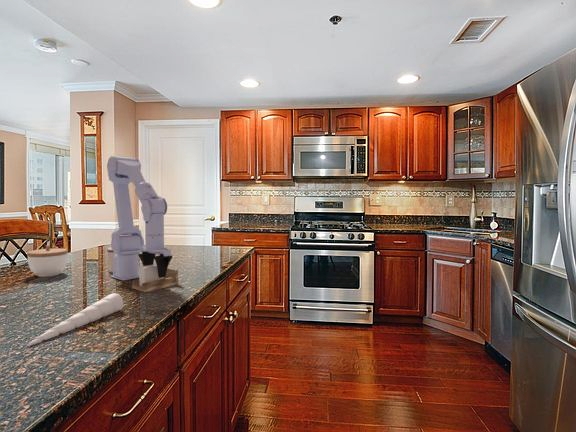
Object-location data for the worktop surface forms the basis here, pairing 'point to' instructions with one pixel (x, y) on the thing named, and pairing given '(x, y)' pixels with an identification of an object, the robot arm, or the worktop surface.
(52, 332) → the unicorn horn
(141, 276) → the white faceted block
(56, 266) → the lidded bowl
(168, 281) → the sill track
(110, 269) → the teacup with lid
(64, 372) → the worktop surface
